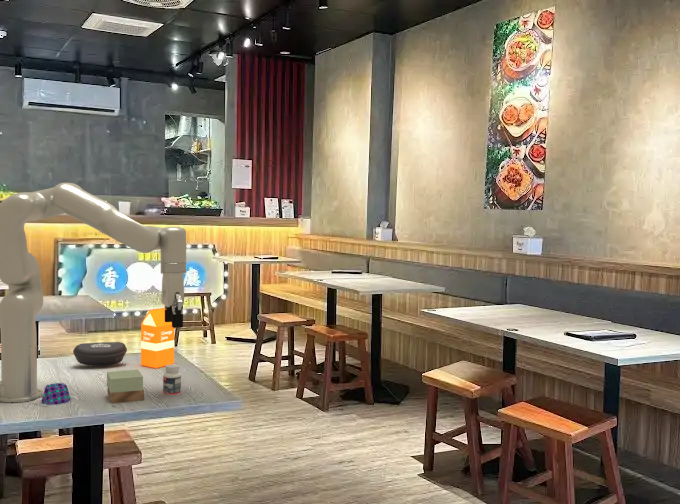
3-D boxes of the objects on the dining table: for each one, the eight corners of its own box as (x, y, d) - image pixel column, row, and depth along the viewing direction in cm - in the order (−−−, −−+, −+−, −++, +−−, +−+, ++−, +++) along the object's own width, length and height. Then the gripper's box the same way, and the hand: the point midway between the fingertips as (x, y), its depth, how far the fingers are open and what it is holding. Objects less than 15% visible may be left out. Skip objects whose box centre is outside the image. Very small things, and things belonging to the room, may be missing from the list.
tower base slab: (112, 406, 205) (112, 393, 204) (107, 398, 213) (107, 385, 213) (144, 403, 209) (144, 390, 208) (138, 395, 217) (138, 382, 216)
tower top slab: (110, 392, 204) (110, 379, 204) (106, 385, 213) (106, 371, 212) (142, 390, 208) (142, 376, 208) (137, 382, 216) (138, 369, 216)
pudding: (64, 394, 215) (63, 377, 215) (86, 402, 208) (86, 385, 207) (25, 403, 206) (25, 385, 205) (47, 411, 198) (47, 393, 198)
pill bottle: (159, 395, 217) (159, 366, 216) (171, 391, 221) (171, 362, 221) (172, 397, 214) (173, 368, 213) (184, 393, 219) (184, 365, 218)
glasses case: (73, 369, 245) (73, 346, 244) (73, 362, 255) (73, 340, 254) (127, 366, 251) (128, 344, 251) (125, 359, 261) (125, 338, 260)
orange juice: (174, 363, 257) (175, 308, 255) (156, 368, 249) (156, 311, 248) (158, 360, 261) (159, 306, 260) (140, 364, 254) (140, 308, 252)
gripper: (154, 265, 221) (155, 320, 222) (167, 271, 205) (167, 330, 207) (179, 265, 224) (179, 319, 225) (193, 270, 209) (193, 328, 210)
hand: (173, 324), depth 216 cm, fingers open, 9 cm apart
